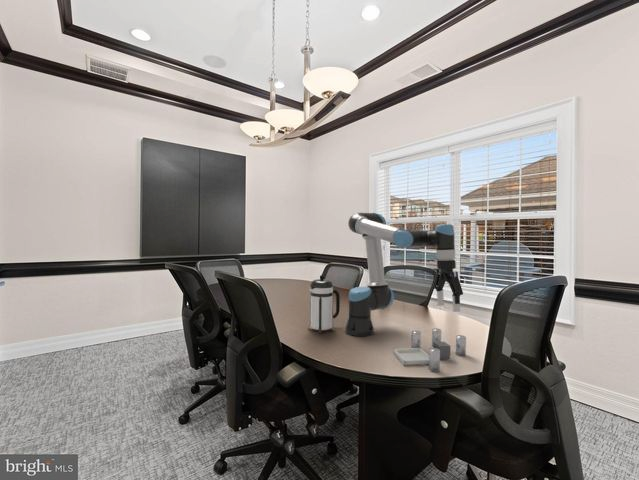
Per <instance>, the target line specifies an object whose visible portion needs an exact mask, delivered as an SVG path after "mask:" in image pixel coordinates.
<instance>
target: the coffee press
mask: <svg viewBox="0 0 639 480" xmlns="http://www.w3.org/2000/svg"><path fill="white" fill-rule="evenodd" d="M334 286H335V285H334V283H333V281H331V280H330V279H328V278H327V279H326V278H325V276H324V275H322V274H320V276H319V278H318V279H313V280H312V281H311V283H310V284H309V287H310V288H309V292H310V293H309V295H310V296H309V307H310V308H309V321H310V322H309V326H308V327H307V329H308V330H309V331H310V330H311V329H313V330H316V331H318V335H322V332H323V331H328V330H332V331H336V327H335V326H334V319H336V318H337V317H338V316H339V314H340V308H341V307H340V304H341V303H340V302H341V301H340V297H341V296H340V292H339V291H338V290H336V289H334ZM334 294H335V299H336V300H335V312H334ZM309 327H310V328H309ZM332 327H333V328H332Z"/></svg>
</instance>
